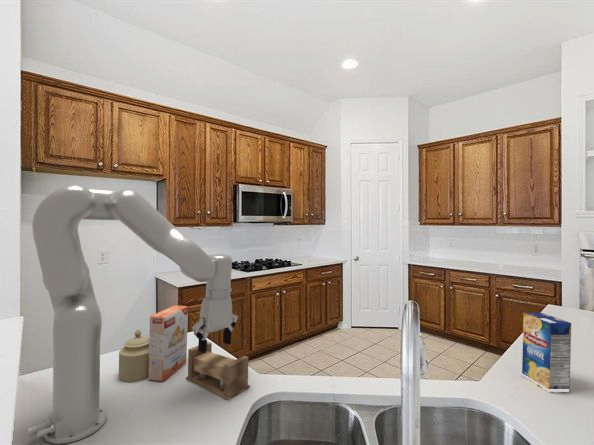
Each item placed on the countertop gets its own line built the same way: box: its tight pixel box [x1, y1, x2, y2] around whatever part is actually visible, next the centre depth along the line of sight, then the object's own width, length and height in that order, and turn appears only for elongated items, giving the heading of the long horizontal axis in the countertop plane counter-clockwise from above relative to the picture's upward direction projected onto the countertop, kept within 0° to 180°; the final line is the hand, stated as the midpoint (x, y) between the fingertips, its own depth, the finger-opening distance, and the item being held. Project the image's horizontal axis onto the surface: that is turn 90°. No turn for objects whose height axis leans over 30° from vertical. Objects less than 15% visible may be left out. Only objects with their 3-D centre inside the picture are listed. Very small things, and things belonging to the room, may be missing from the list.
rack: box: [185, 341, 250, 401], centre depth 100 cm, size 9×20×10 cm, turn 54°
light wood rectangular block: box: [194, 351, 236, 381], centre depth 100 cm, size 14×6×4 cm, turn 61°
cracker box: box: [147, 304, 189, 383], centre depth 107 cm, size 14×6×21 cm, turn 168°
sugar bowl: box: [118, 329, 149, 383], centre depth 106 cm, size 15×11×15 cm
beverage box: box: [521, 312, 572, 390], centre depth 103 cm, size 7×11×22 cm, turn 3°
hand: (215, 347), depth 99 cm, fingers open, 9 cm apart
